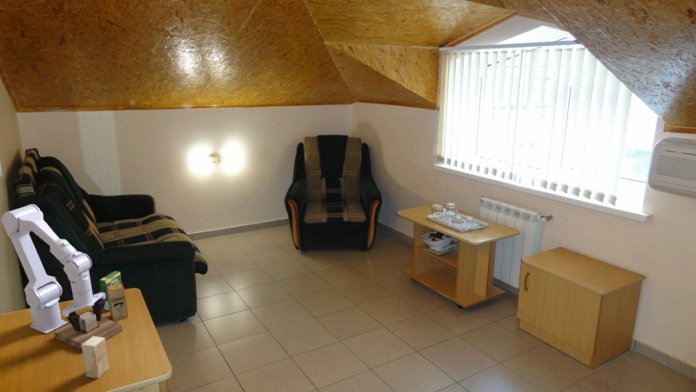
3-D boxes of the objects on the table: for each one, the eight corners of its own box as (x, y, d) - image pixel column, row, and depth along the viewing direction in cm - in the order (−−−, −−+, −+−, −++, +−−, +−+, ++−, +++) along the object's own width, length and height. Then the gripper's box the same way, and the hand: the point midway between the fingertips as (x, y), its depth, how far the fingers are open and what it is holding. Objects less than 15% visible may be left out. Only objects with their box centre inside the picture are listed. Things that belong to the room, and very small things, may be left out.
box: (98, 379, 144) (93, 347, 141) (85, 377, 145) (80, 345, 142) (110, 368, 149) (105, 337, 146) (97, 366, 150) (92, 335, 146)
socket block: (55, 338, 164) (54, 332, 163) (92, 319, 176) (91, 313, 175) (85, 351, 157) (84, 345, 156) (122, 330, 169) (121, 324, 168)
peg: (80, 334, 165) (77, 316, 163) (90, 329, 168) (87, 311, 166) (87, 337, 163) (84, 319, 161) (98, 332, 167) (95, 314, 165)
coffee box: (109, 312, 180) (105, 280, 177) (103, 310, 181) (98, 279, 177) (125, 301, 188) (121, 271, 184) (119, 300, 189) (114, 270, 185)
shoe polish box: (110, 315, 178) (106, 286, 175) (125, 311, 181) (121, 282, 178) (113, 321, 174) (109, 291, 171) (128, 317, 177) (124, 287, 174)
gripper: (68, 302, 153) (75, 339, 157) (109, 283, 166) (114, 318, 170) (55, 297, 156) (61, 333, 160) (95, 279, 169) (100, 313, 173)
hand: (87, 325), depth 165 cm, fingers open, 7 cm apart
